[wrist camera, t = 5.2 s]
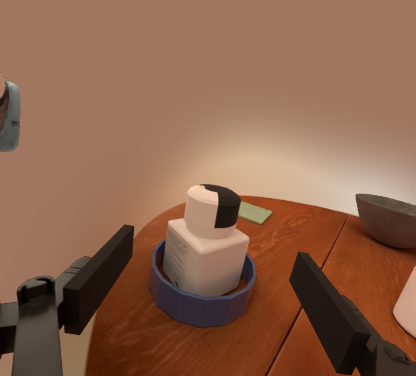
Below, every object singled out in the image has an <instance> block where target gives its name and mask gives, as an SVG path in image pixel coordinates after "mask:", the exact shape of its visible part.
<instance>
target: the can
mask: <svg viewBox="0 0 416 376" xmlns="http://www.w3.org/2000/svg"><path fill="white" fill-rule="evenodd" d="M393 314H394V316H395V318H396V320H397V322H398V323H399V325H400V326H401V327H402V328H403V329H404V330H405V331H406V332H407V333H409V334H410V335H411V336H412V337H414V338H415V339H416V266H415V268H414V270H413V272H412V274H411V275H410V277H409V279H408V281H407V283H406V285H405V287H404V289H403V291H402V293H401V295H400V297H399V299H398V301H397V303H396V305H395V307H394V309H393Z"/></svg>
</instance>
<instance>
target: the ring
mask: <svg viewBox="0 0 416 376" xmlns="http://www.w3.org/2000/svg"><path fill="white" fill-rule="evenodd" d="M165 245H166V239H164V240H162V241H161V242H160V243H159V244H158V245H157V247H156V248H155V249H154V250H153V252H152V262H151V273H150V287H149V290H150V292H151V294H152V296H153V298H154V300H155V302H156V304H157V306H158V307H159V308H160V309H162V310H163V311H164V312H165V313H167V314H168V315H169V316H171V317H172V318H173V319H174V320H176V321H179V322H182V323H186V324H189V325H193V326H196V327H200V328H202V327H213V326H224V325H226V324H228V323H230V322H231V321H233V320H235V319H236V318H238V317H240V316H242V315H243V313H244V311H245V309H246V308H247V306H248V304H249V302H250V300H251V296H252V293H253V289H254V285H255V282H256V278H257V277H256V267H255V263H254V261H253V260H252V259H251V257H250V256H249V254H248V253H247V252H246V256H245V260H244V264H243V269H242V273H241V276H242V277H243V279H244V281H245V283H246V285H247V287H246V288H244V289H242V290H240V291H238V292H236V293H234V294H232V295H230V296H214V297H204V296H200V295H196V294H193V293H189V292H185V291H182V290H180V289H179V288H177V287H176V286H174V285H173V284H171V283H170V282H168V281H167V280H165V279H164V278H163V276H162V275H161V273H160V272H159V270H158V267H159V265H160V264H161V263H162V262H164V254H165Z"/></svg>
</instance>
